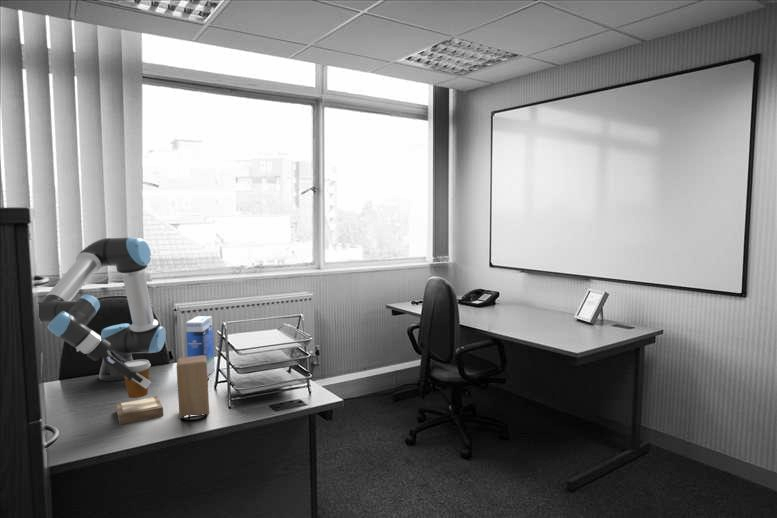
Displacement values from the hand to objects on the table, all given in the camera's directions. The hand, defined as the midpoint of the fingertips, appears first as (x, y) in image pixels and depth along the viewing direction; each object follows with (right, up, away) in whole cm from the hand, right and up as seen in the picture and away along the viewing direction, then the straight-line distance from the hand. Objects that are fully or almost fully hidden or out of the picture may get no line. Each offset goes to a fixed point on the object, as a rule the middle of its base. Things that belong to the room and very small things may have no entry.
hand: (147, 381), depth 183 cm
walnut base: (-2, -11, 0) cm, 12 cm away
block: (+18, -11, -1) cm, 21 cm away
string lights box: (+4, -8, +43) cm, 44 cm away
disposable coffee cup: (-3, -5, -1) cm, 6 cm away
